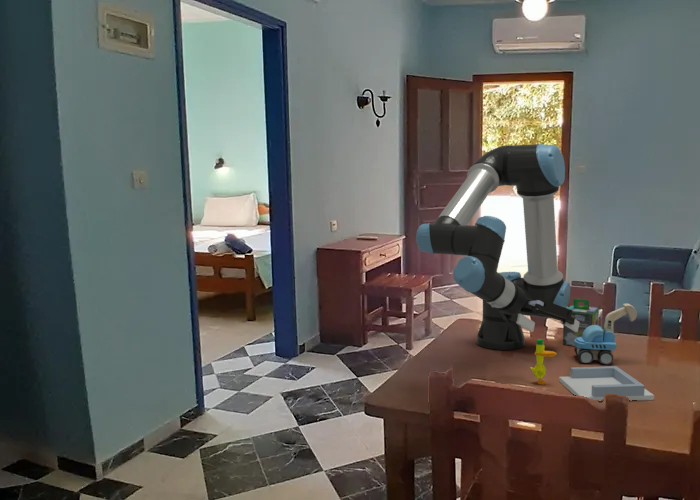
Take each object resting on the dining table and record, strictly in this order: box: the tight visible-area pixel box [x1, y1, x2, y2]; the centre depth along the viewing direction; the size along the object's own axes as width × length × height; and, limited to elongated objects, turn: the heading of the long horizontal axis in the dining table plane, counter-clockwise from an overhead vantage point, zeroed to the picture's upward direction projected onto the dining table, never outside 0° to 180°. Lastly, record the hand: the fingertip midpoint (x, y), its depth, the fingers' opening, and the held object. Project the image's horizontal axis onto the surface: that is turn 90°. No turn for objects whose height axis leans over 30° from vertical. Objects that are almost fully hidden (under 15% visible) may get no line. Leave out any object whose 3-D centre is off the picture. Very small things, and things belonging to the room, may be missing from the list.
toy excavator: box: [574, 303, 638, 366], centre depth 184 cm, size 9×17×17 cm, turn 78°
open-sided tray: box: [558, 365, 655, 402], centre depth 161 cm, size 18×15×4 cm
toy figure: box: [529, 338, 557, 386], centre depth 166 cm, size 7×4×12 cm, turn 79°
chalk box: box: [562, 298, 600, 347], centre depth 202 cm, size 9×9×15 cm
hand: (554, 327), depth 165 cm, fingers open, 13 cm apart
